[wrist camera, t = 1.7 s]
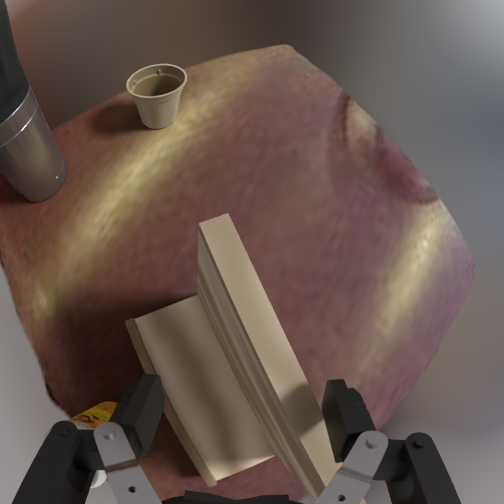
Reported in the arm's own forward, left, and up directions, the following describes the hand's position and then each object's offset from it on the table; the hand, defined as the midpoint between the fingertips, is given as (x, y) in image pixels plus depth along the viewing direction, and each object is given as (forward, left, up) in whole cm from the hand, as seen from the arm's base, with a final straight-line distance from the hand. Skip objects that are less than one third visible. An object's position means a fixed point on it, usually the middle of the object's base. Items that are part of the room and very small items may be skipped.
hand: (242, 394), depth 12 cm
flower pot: (-12, +38, -22) cm, 46 cm away
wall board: (-1, -3, -22) cm, 22 cm away
